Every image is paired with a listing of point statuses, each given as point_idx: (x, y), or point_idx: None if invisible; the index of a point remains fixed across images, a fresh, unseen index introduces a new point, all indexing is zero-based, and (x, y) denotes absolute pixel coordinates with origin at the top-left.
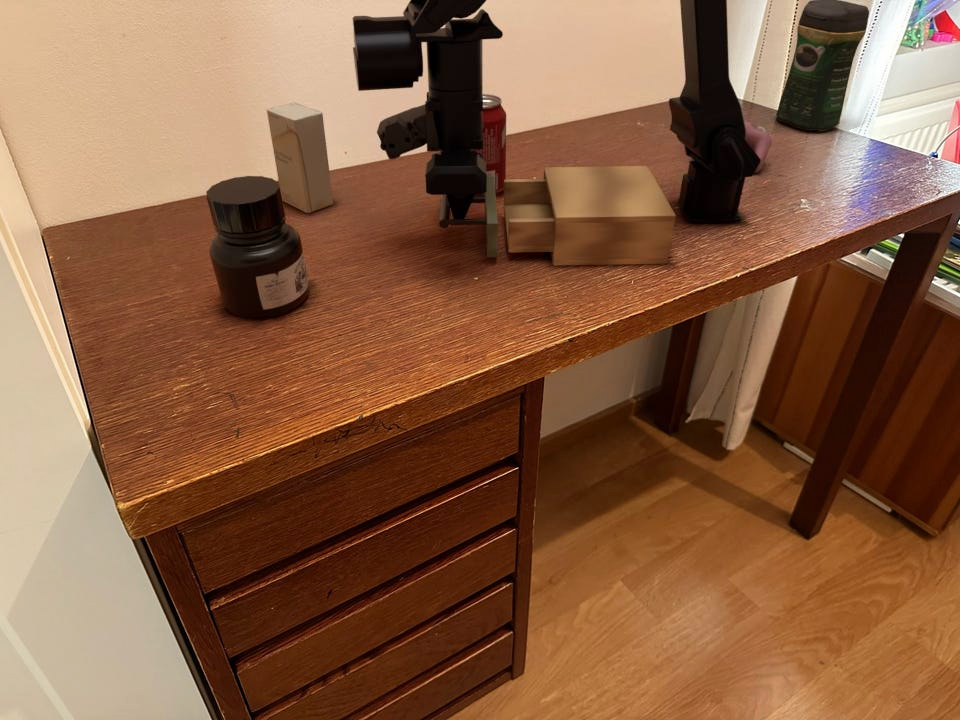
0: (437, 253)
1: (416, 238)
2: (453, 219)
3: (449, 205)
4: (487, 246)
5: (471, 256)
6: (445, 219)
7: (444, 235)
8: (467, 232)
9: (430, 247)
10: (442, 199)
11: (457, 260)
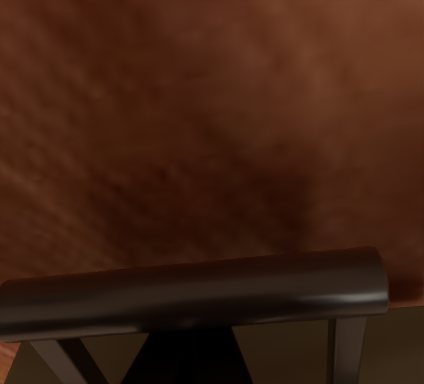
0: (43, 168)
1: (171, 38)
2: (54, 351)
3: (124, 378)
4: (8, 375)
5: (68, 273)
6: (4, 341)
7: (227, 170)
8: (264, 245)
9: (88, 131)
10: (305, 299)
11: (19, 240)
